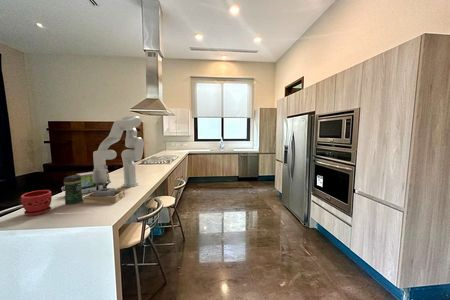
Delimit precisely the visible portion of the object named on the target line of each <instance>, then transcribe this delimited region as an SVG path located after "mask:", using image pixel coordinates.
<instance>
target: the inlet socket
mask: <svg viewBox="0 0 450 300" xmlns="http://www.w3.org/2000/svg"><path fill="white" fill-rule="evenodd" d="M115 191H116V189H115V187H109V188H108V187H107V188H101V189H99V190H97V191H93V192H94V197H105V196H115Z"/></svg>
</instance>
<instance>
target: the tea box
mask: <svg viewBox="0 0 450 300" xmlns="http://www.w3.org/2000/svg"><path fill="white" fill-rule="evenodd" d="M75 175H80V176H81V191H82V195H83V194H87V193H93V192H95V191H96V187H95V186H94V184H92V183H91V182H92V180H93V171H88V172H80V173H76V174H75Z"/></svg>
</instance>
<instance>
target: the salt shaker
mask: <svg viewBox="0 0 450 300" xmlns="http://www.w3.org/2000/svg"><path fill="white" fill-rule="evenodd" d="M103 187H104V185H103V183H98V190H99V189H101V188H103Z"/></svg>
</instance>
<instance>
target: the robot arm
mask: <svg viewBox="0 0 450 300" xmlns="http://www.w3.org/2000/svg"><path fill="white" fill-rule="evenodd" d="M141 124H142V119H141V117H139V116H136V115H135V116H133V115H131V116H128V115H127V116H124V117H122V118H121V119H117V120H115V121H114V122H113V124H112V126H111V129H110V132H109V134H108V136H107V137H106V138H105V139H104V140H103V141H101V143H100V144H99V146H98V149H97V150H95V151H93V154H92V156H93V169H92V170H93V171H92V172H93V180H92V182H91V183H92V184H94V186H95V187H96V191H97V190H98V183H103V185H104V187H103V188H108V185H110V184H111V183H112V181H111V179H110V173H109V170H108V165H107V163H106V161H107V160H114V159H116V157H117V152H116V151H115V150H113V149H109V148H110V146H111V145H114V144H115V143H117V142H119V141H120V140H121V138H122V136H123V133H124V131H126V133H125V143H124V146H125V147H126V148H129V149H124V150H122V152H121V154H120V156H121V159H122V165H123V166H122V167H123V183H122V187H124V188H132V187H136V186H137V187H138V185H139V183H138V182H137V180H138V179H137V171H136V164H135V162H137V161H138V162H139V161H141V160H142V158H143V155H144V154H143V153H144V147H145V142H144V139H143V138H142V137H138V130H137V129H136V128H138V127H139V126H141Z"/></svg>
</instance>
